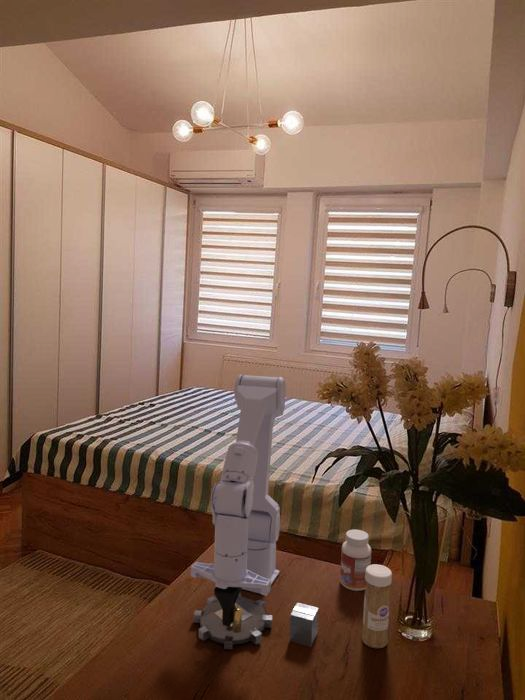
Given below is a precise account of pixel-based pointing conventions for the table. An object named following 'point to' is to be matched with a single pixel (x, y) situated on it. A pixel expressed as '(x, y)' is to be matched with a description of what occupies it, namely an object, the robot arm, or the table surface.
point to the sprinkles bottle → (376, 605)
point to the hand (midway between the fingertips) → (228, 622)
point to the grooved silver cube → (304, 624)
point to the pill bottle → (355, 560)
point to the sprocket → (233, 622)
